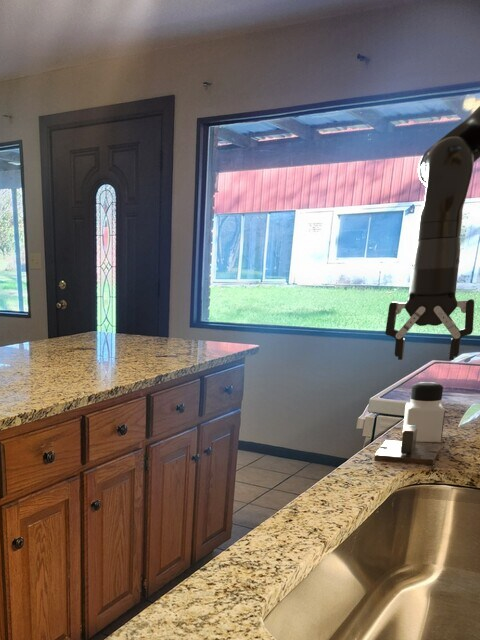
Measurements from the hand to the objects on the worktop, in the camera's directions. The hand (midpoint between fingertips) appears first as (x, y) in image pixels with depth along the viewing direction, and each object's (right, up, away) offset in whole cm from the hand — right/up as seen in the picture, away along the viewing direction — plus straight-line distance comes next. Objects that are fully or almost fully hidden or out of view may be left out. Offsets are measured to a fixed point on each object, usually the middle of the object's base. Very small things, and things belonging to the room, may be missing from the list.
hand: (425, 359), depth 126 cm
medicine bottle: (+10, -12, +23) cm, 28 cm away
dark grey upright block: (-1, -16, +5) cm, 17 cm away
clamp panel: (-1, -19, +6) cm, 20 cm away
